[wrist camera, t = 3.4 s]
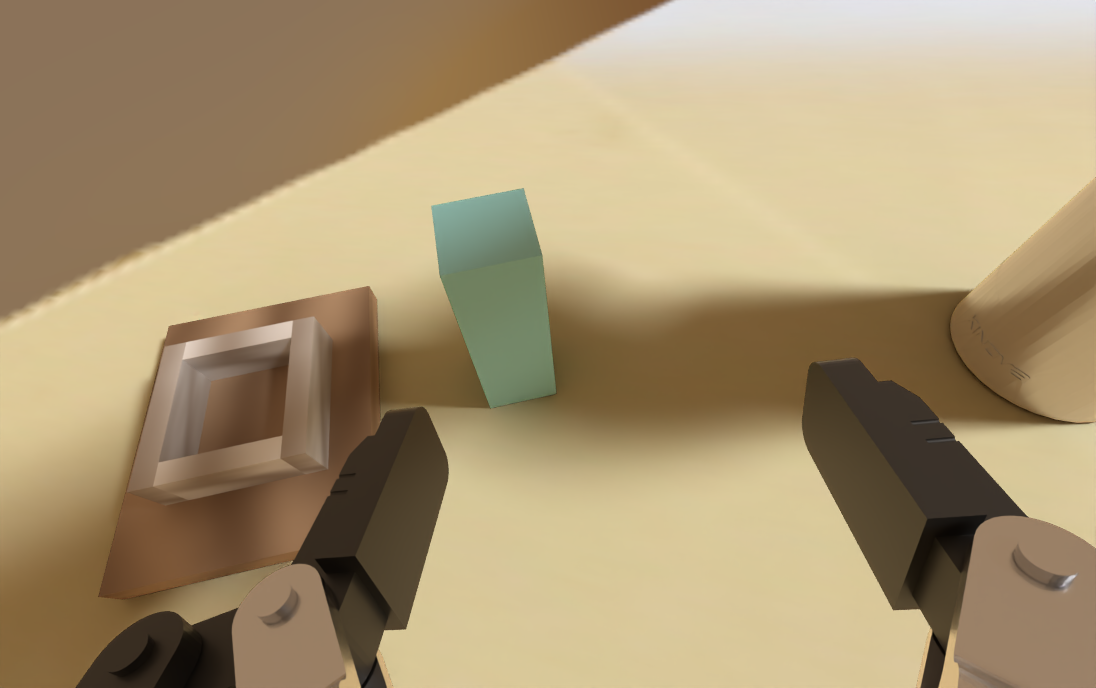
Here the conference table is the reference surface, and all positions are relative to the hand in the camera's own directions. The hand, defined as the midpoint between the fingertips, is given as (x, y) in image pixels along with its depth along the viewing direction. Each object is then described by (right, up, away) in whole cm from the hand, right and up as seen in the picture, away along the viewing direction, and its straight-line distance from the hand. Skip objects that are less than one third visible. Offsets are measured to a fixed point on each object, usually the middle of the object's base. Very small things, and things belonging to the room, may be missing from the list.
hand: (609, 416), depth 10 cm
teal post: (-3, 0, +19) cm, 20 cm away
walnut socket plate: (-18, -3, +19) cm, 26 cm away
